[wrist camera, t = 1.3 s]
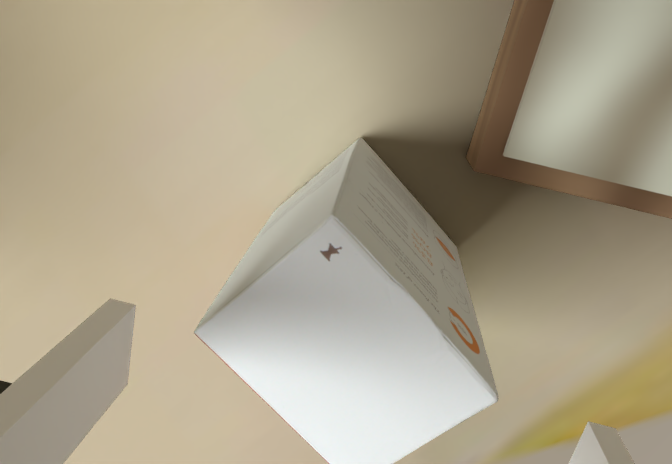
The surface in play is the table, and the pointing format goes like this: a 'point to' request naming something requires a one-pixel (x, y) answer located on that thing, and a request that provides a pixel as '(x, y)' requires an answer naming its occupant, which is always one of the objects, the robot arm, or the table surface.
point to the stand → (583, 102)
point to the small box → (354, 317)
